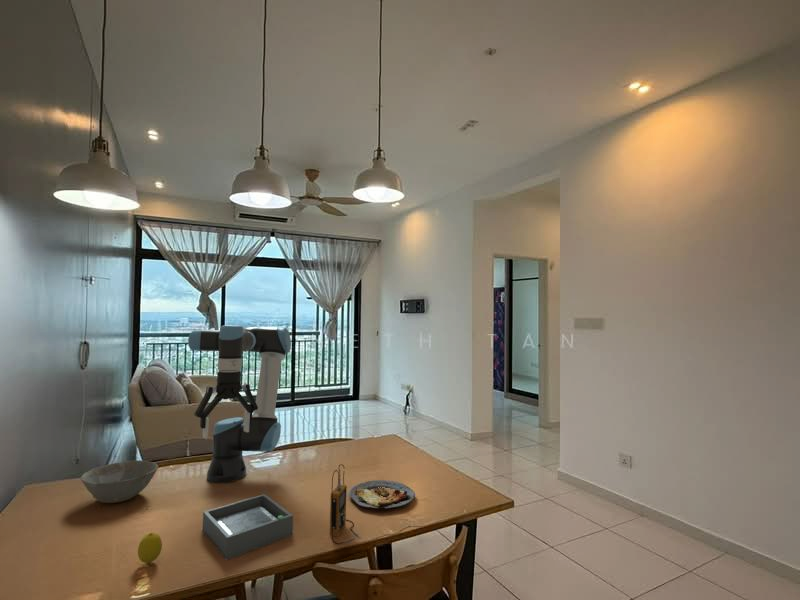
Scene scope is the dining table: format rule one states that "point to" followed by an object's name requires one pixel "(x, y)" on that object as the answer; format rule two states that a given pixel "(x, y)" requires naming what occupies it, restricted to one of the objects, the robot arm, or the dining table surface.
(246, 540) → the gray open box
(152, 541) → the lemon
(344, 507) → the multimeter
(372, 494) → the food plate
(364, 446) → the dining table surface
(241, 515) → the gray picture frame
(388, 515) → the dining table surface
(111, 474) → the ceramic bowl
